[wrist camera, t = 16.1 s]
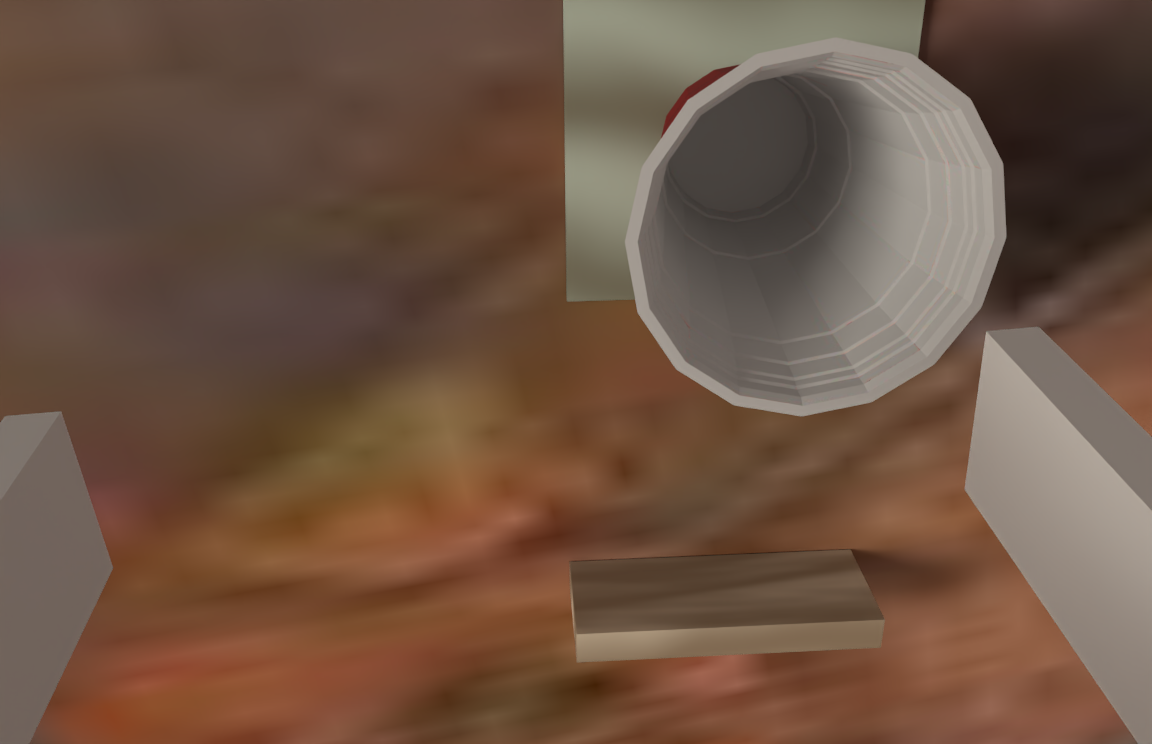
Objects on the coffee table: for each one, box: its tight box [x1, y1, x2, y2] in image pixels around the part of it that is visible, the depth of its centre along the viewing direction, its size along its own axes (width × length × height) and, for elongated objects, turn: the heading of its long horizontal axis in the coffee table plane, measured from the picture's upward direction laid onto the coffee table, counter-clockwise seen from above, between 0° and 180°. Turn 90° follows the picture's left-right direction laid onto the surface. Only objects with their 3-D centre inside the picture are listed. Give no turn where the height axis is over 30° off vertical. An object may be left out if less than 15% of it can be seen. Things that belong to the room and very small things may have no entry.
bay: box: [563, 0, 925, 662], centre depth 41 cm, size 30×13×5 cm, turn 0°
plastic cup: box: [625, 37, 1006, 416], centre depth 35 cm, size 11×11×12 cm
